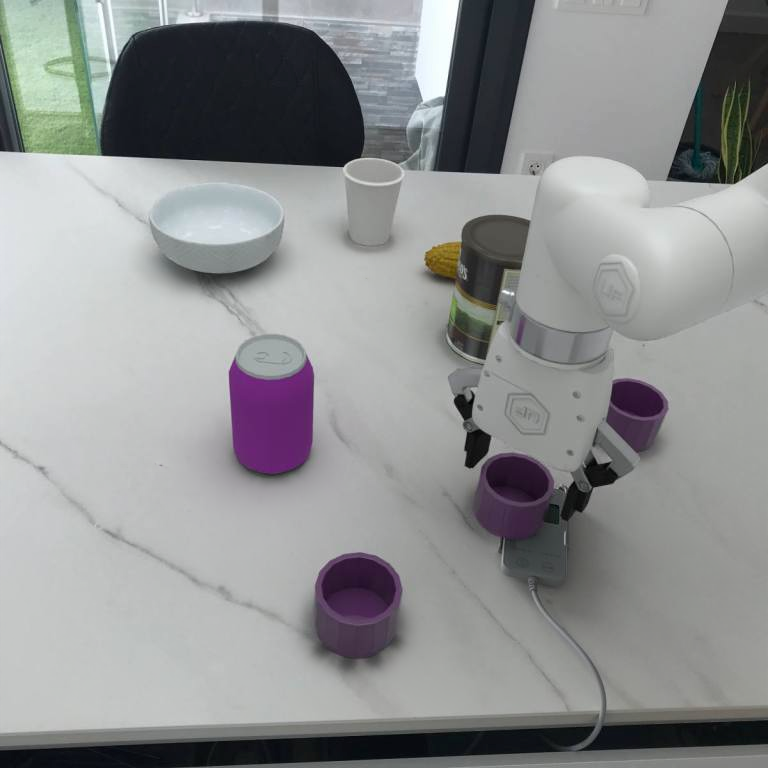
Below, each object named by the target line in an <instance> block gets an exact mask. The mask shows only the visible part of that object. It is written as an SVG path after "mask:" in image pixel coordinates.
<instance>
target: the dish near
mask: <svg viewBox="0 0 768 768" xmlns="http://www.w3.org/2000/svg"><path fill="white" fill-rule="evenodd" d="M402 596H403V586H402V582H401V577H400V575H399V574H398V572H397V571H396V570H395V568H394V567H393V566H392V565H391V563H390V562H388V561H387V560H384V559H383V558H381V557H379V556H378V555H375V554H371V553H366V552H362V551H360V552H348V553H347V552H346V553H342V554H341V555H339V556H336V557H334V558H332V559H330V560H329V561H328V562H327V563H326V564H325V565H324V566H323V567H322V568H321V569H320V570H319V572H318V575H317V578H316V581H315V584H314V601H313V602H314V604H313V606H314V607H313V617H314V618H313V619H314V621H313V622H314V629H315V632H316V635H317V637H318V639H319V640H320V641H321V643H322V644H323V645H324V646H325V647H326V648H327V649H329V650H330V651H331V652H333V653H334V654H337V655H339V656H341V657H345V658H348V659H349V658H350V659H363V658H369V657H371V656H374V655H376V654H379V653H380V652H382V651H383V650H385V648H387V647H388V646H389V644H390V643H391V642H392V641H393V639H394V637H395V635H396V632H397V627H398V622H399V616H400V611H401V603H402V598H403V597H402Z"/></svg>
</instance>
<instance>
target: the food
mask: <svg viewBox="0 0 768 768" xmlns="http://www.w3.org/2000/svg"><path fill="white" fill-rule="evenodd" d="M461 242H462V241H452V242H445V243H442V244H438V245H437V246H435V245H433V246H432V247H431V249H429V250H428V251H425V254H424V259H423V260H424V261H425V266H426V267H427V269H428V270H429V271H430V272H434V273H435V274H437V275H439V276H442V277H446V278H449V279H454V280H456V273H457V267H458V261H459V254H460V248H461Z"/></svg>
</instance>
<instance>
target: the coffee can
mask: <svg viewBox="0 0 768 768" xmlns="http://www.w3.org/2000/svg"><path fill="white" fill-rule="evenodd" d="M530 221H531V219H528V218H523V217H519V216H515V215H508V214H485V215H481V216H478V217H475V218H472V219H470V220H469V221H467V222H466V223H465V224H464V225H463V227H462V228H461V235H460V238H461V241H460V242H461V248H460V254H459V261H458V267H457V273H456V279H454V280H455V281H454V287H453V292H452V299H451V305H450V311H449V318H448V324H447V329H446V331H445V337H446V341H447V344H448V346H449V347H450V348H451V349H452V350H453V351H454V352H455V353H456V354H457V355H459V357H460V356H461V357H462V358H463V359H465V360H468V361H470V362H472V363H476V364H479V365H483V366H484V363H485V361H486V358H487V355H488V352H489V349H490V347H491V344H492V342H493V339H494V337H495V335H496V332H497V330H498V328H499V326H500V325H501V324H502V323H503V322H504V321H506V320H508V319H509V315H510V310H509V309H508V308H507V307H506V305H503V304H501V303H499V296H500V293H501V291H502V290H503V289H504V288H505V287H507V288H509V289H512V290H514V289H516V290H517V288H518V283H519V278H520V273H521V267H522V262H523V257H524V253H525V247H526V242H527V237H528V232H529V227H530Z"/></svg>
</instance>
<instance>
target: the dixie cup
mask: <svg viewBox="0 0 768 768" xmlns="http://www.w3.org/2000/svg"><path fill="white" fill-rule="evenodd" d="M342 174H343V175H344V182H345V183H344V184H345V195H346V207H347V208H346V209H347V220H348V232H349V234H348V235H349V239H350V240H352V242H354V243H356V244H358V245H360V246H361V245H362V246H364V247H365V246H366V247H377V246H382V245H384V244H386V243H387V242H388V241H389V240H390V236H391V230H392V227H393V222H394V218H395V214H396V209H397V204H398V200H399V195H400V192H401V186H402V182H403V180H404V178H405V177H406V173H405V171H404V169H403V168H402V167H401V165H399V164H397V163H395V162H393V161H391V160H388V159H384V158H377V157H361V158H356V159H353V160H351V161H348V162H347V163H346V164H344V166H343V168H342Z"/></svg>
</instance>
